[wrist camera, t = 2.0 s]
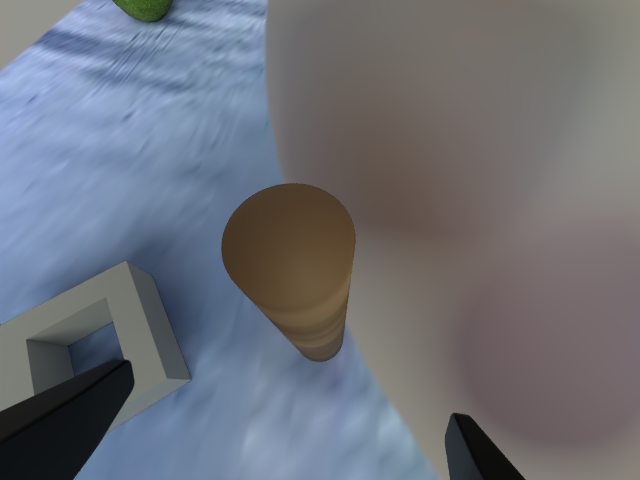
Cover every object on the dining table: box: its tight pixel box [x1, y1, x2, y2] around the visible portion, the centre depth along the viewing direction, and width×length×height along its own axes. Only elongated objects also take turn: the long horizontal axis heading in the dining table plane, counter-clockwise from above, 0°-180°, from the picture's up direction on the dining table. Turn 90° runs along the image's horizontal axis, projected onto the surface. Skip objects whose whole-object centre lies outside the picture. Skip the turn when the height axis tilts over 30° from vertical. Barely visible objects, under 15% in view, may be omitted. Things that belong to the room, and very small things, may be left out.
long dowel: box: [221, 184, 355, 362], centre depth 13 cm, size 3×3×14 cm
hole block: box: [0, 260, 191, 433], centre depth 18 cm, size 8×8×3 cm
